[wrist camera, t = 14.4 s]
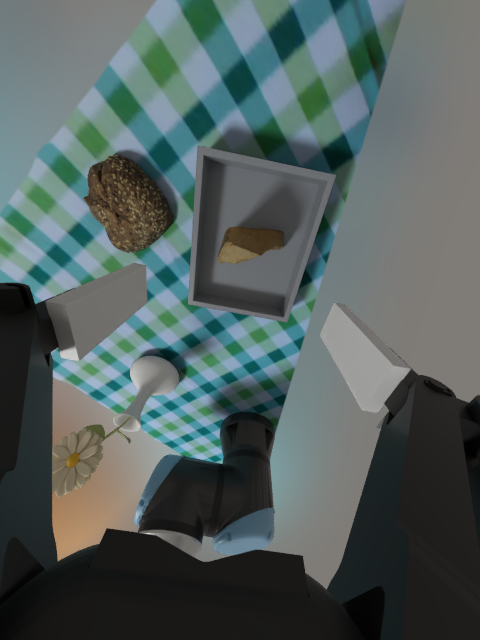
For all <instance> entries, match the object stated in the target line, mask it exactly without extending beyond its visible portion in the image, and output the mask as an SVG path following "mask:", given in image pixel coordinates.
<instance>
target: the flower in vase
mask: <svg viewBox="0 0 480 640" xmlns="http://www.w3.org/2000/svg"><path fill="white" fill-rule="evenodd" d="M130 376H131V379H132V381H133V383H134V384H135V386H136V387H137V388H138V389H139V392H138V394H137V396H136V398H135V399H134V401H133V402H132V403H131V405H130V406H129V407H128V408H127V409H126V410H125V411H123V412H122V413H120V414H117V415H116V416H115V417H114V418H113V422H114V424H115V425H116V426H117V427H118V428H117V429H115V430H114V431H112V432H111V433H110V434H108V435H107V436H106V437H105V431H104V428H103V427H102V425H90V426H87V427H85V428H83V430H81V431H79V432H78V434H77V435H76V433H75V432H72V433H71V434H70V435H69V437H67V436H65V437H63V438H62V440H61V443H60V445H56V446H54V447H53V449H52V453H53V454H52V492H54V491H55V490H56V492H55V494H56V495H57V497H61V496H62V495H63V494H68V493H69V492H70V491H72V489H73V487H74V486H75V488H76V489H79V488H80V487H83V486H84V485H85V483H86V482H87V481H88V480H89V479H90V477H91V473H93V472H94V471H95V470H96V468H97V465H98V464H99V461H100V460H101V459H102V457H103V454H102V453H101V451H102V450H103V447H102V446H101V443H102V441H104V440H105V439H106V438H107V437H109V436H110V435H111V434H113V433H114V432H116V431H117V432H118V433H119V434H120V435H121V436H123V437H125V438H126V439H127V440H128V442H129V443H130V441H131V440H130V439H129V438H128V437H126V436H125V435H123V434H122V433H121V432H120V431H118V429H122V430H124V431H129V432H134V431H138V430H139V429H140V428H141V422H140V416H141V412H142V409H143V407H144V405H145V403H146V401H147V399H148V398H149V397H150V396H151V395H163V394H167V393H170V392H171V391H173V390H174V389H175V388H176V387H177V386H178V384H179V374H178V372H177V370H176V368H175V367H174V366H173V365H172V364H171V363H170V362H169V361H167V360H165V359H163V358H161V357H157V356H145V357H141V358H138V359H137V360H135V361H134V362H133V364H132V365H131V369H130ZM102 438H103V439H102Z"/></svg>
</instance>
